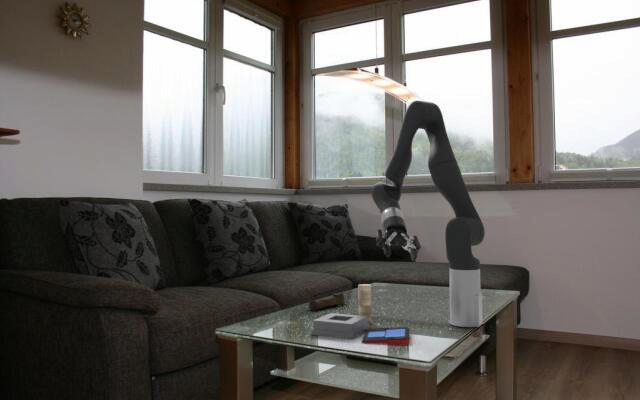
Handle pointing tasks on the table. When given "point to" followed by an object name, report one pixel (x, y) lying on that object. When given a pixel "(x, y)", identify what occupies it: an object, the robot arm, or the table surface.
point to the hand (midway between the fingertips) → (401, 257)
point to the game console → (387, 336)
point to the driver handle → (364, 301)
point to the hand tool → (327, 301)
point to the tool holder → (340, 325)
